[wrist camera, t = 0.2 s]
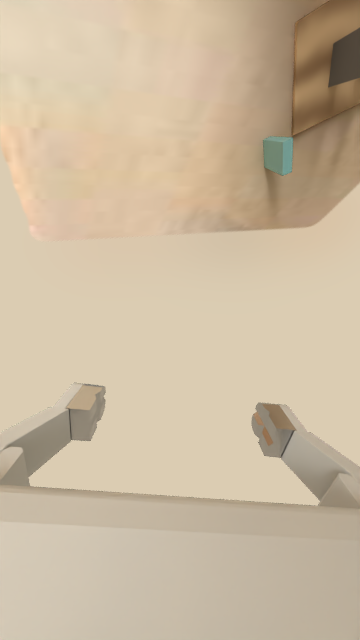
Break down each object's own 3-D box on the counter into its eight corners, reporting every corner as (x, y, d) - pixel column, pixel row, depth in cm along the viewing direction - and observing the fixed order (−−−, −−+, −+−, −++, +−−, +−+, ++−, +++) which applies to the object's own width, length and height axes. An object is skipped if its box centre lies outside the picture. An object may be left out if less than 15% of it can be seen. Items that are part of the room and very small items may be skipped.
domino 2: (333, 43, 31) (387, 10, 22) (344, 37, 30) (403, 1, 22) (328, 87, 34) (373, 73, 26) (338, 82, 34) (387, 66, 25)
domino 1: (263, 140, 40) (283, 142, 32) (270, 136, 40) (293, 137, 31) (264, 167, 43) (282, 175, 35) (271, 164, 43) (291, 171, 35)
